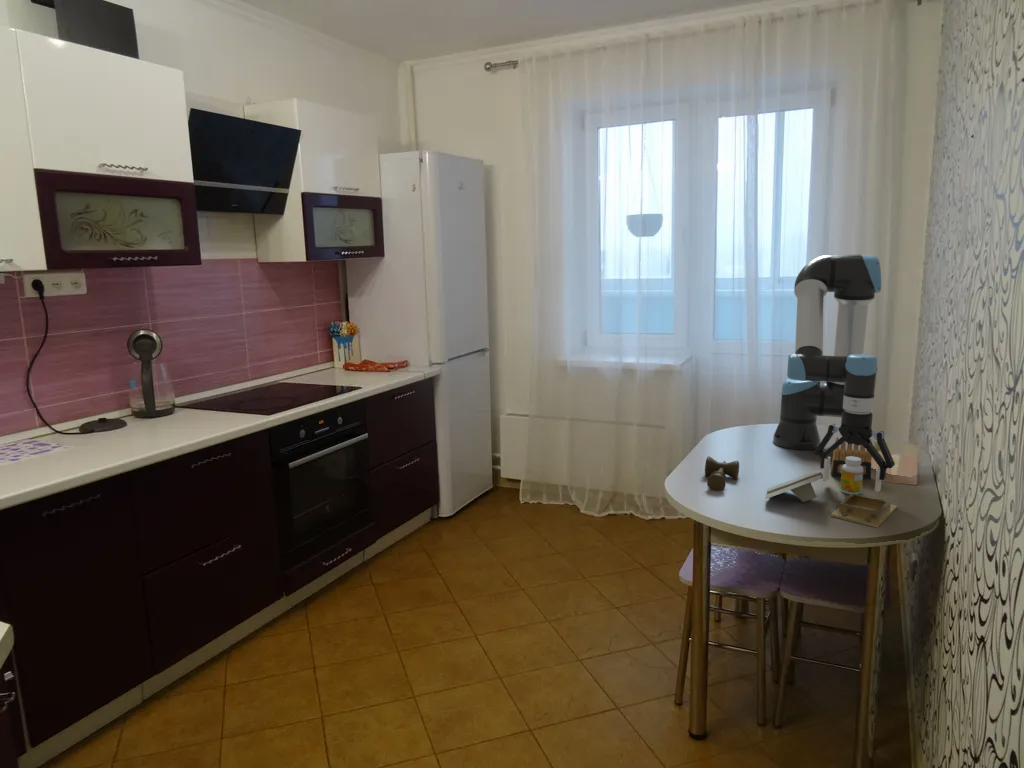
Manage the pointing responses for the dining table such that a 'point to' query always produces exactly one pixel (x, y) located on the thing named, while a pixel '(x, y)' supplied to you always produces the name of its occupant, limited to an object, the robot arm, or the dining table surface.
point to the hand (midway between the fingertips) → (851, 485)
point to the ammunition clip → (840, 459)
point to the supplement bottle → (851, 476)
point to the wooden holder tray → (864, 510)
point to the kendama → (720, 473)
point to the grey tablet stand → (798, 486)
